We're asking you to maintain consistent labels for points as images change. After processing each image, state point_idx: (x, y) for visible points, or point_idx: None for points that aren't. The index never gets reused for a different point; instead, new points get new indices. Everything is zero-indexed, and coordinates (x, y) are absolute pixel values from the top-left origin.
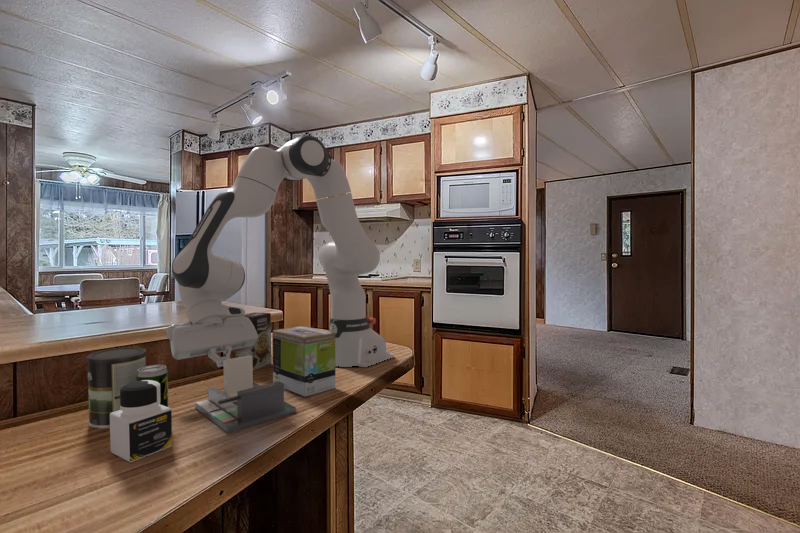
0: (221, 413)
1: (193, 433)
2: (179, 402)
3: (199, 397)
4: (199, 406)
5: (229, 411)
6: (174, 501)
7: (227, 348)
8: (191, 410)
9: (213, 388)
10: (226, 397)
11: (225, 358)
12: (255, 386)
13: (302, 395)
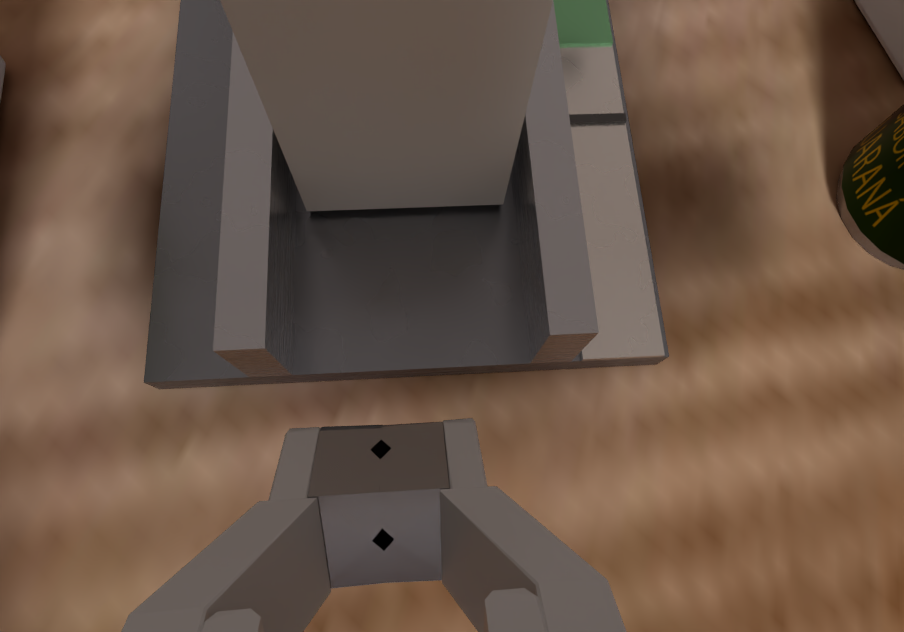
0: (567, 58)
1: (720, 13)
2: (742, 582)
3: None
4: (652, 278)
5: None
6: None
7: (222, 629)
8: (684, 337)
9: (567, 274)
10: None
11: (361, 461)
12: None
13: (2, 78)
